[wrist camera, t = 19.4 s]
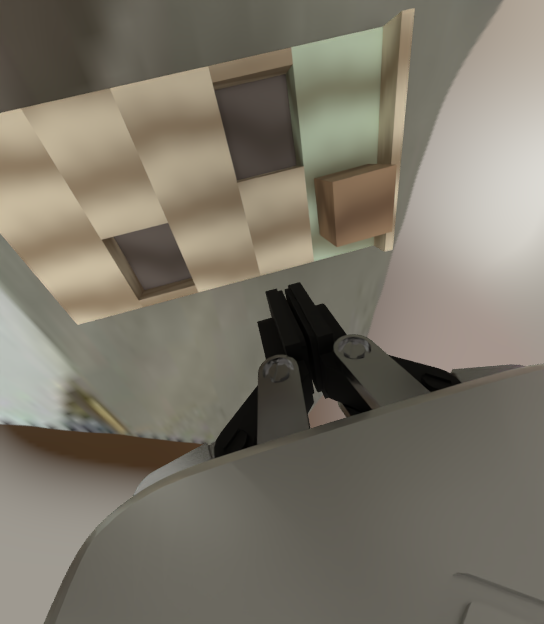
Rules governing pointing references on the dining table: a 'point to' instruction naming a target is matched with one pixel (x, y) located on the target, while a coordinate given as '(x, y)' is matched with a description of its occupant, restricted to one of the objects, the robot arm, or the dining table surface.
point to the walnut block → (356, 203)
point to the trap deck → (198, 170)
